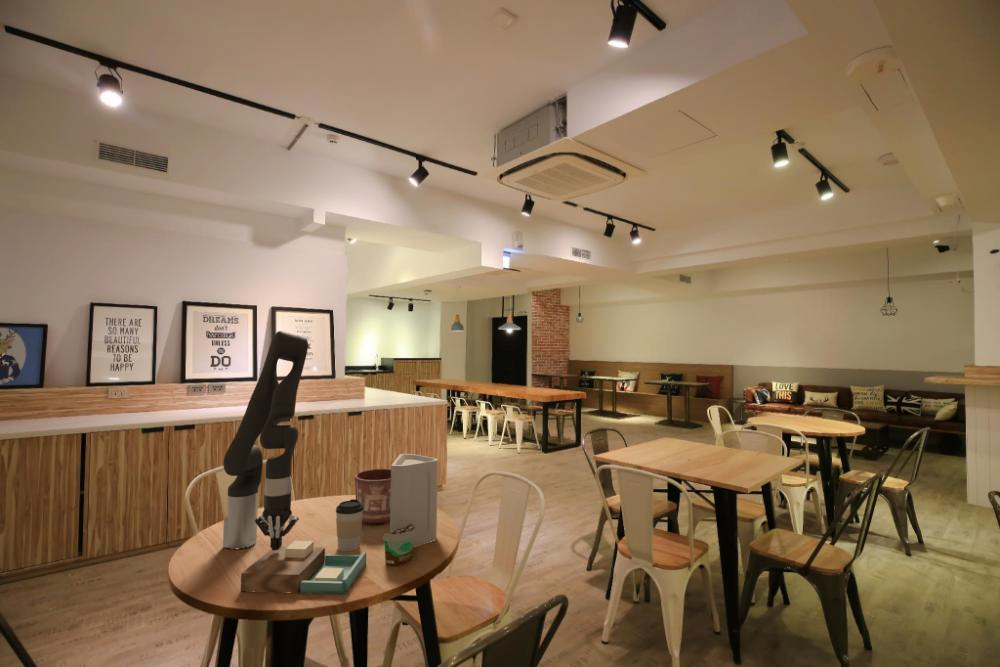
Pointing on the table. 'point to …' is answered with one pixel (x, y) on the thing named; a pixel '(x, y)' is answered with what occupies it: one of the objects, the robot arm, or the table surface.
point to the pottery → (374, 495)
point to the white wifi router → (414, 496)
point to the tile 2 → (330, 574)
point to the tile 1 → (299, 549)
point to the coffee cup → (349, 524)
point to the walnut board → (281, 571)
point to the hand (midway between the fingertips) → (276, 549)
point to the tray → (351, 572)
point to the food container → (399, 545)
